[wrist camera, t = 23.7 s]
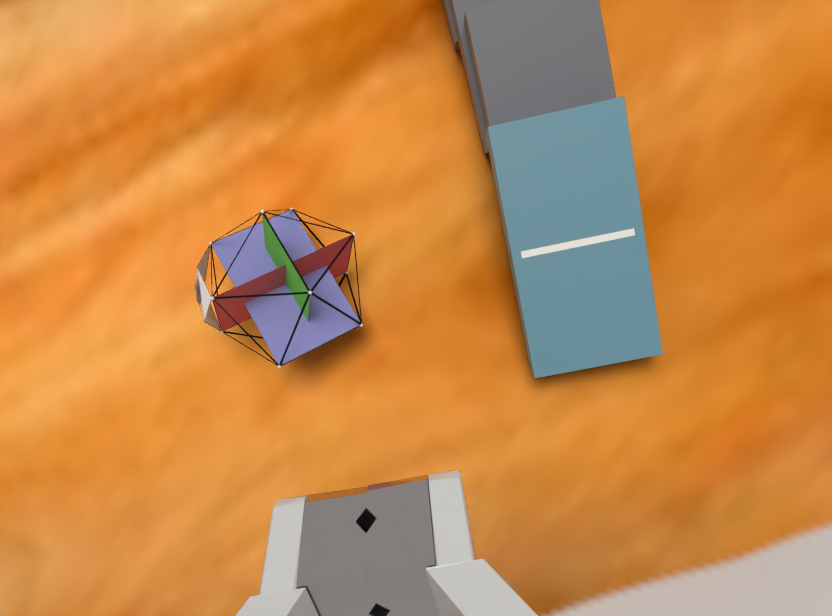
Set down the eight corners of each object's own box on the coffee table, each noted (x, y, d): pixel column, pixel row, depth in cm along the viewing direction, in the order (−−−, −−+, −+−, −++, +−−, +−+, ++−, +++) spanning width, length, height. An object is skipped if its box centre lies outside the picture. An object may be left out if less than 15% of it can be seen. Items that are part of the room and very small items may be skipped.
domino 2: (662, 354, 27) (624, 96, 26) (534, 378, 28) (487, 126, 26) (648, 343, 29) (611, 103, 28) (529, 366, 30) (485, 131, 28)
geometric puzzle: (351, 172, 31) (208, 174, 24) (425, 288, 29) (292, 321, 23) (282, 259, 35) (145, 279, 29) (343, 364, 33) (213, 409, 27)
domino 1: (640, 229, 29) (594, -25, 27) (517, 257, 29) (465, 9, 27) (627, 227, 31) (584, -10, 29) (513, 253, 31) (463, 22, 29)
